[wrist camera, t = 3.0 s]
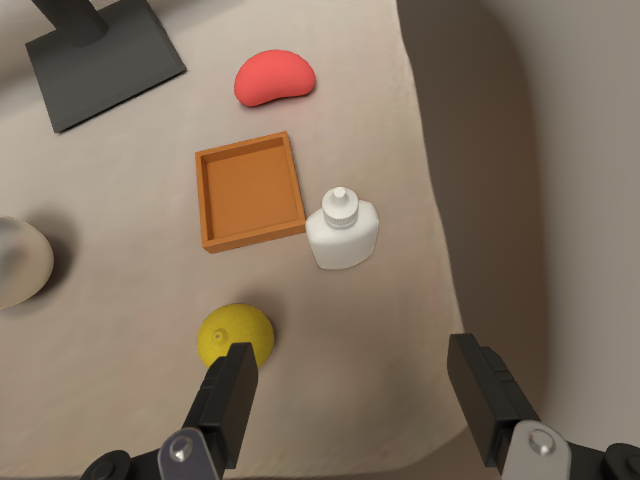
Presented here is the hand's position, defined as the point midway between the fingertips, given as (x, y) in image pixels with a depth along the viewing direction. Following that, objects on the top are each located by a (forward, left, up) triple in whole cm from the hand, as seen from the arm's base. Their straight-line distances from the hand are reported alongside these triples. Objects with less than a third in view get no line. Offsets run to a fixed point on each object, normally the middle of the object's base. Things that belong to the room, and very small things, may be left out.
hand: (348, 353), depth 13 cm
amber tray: (+18, +6, -16) cm, 24 cm away
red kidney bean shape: (+31, +1, -16) cm, 35 cm away
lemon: (+3, +8, -16) cm, 18 cm away
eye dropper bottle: (+9, -2, -16) cm, 18 cm away
